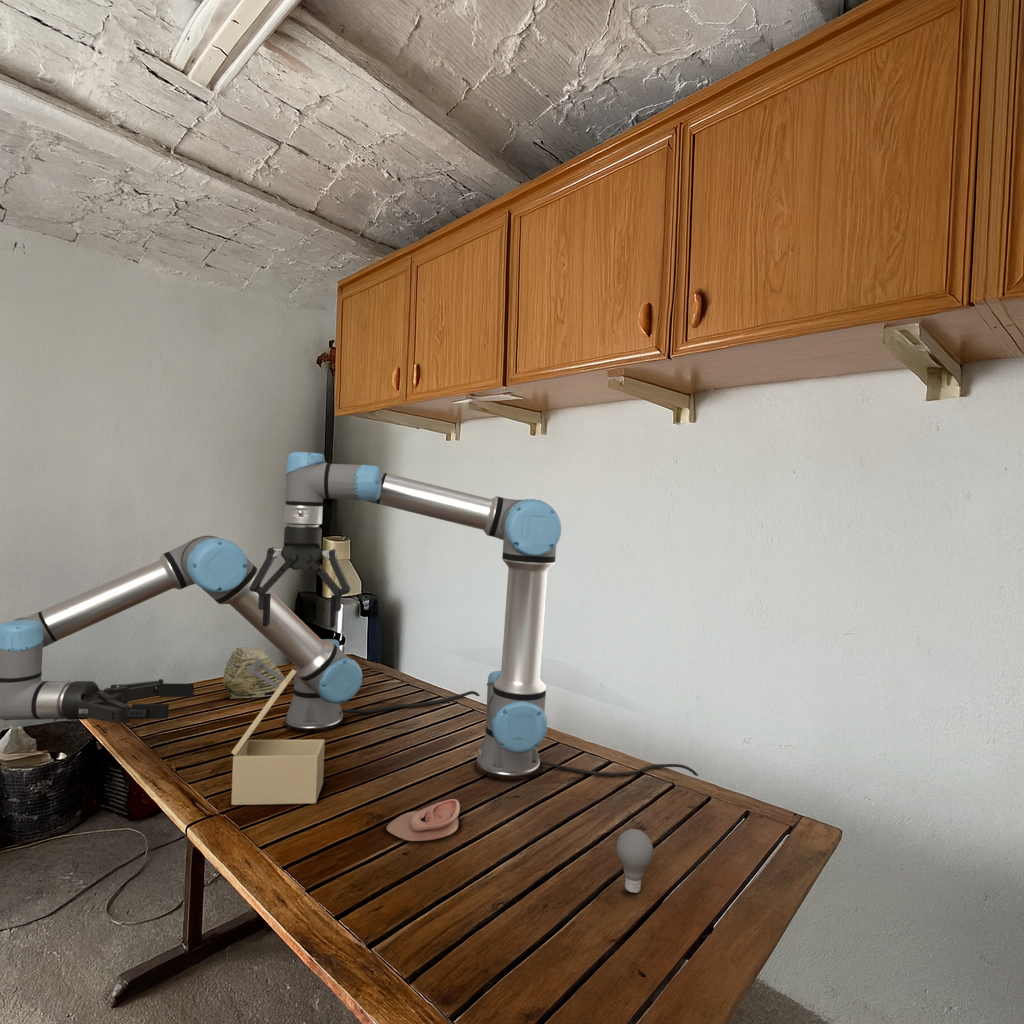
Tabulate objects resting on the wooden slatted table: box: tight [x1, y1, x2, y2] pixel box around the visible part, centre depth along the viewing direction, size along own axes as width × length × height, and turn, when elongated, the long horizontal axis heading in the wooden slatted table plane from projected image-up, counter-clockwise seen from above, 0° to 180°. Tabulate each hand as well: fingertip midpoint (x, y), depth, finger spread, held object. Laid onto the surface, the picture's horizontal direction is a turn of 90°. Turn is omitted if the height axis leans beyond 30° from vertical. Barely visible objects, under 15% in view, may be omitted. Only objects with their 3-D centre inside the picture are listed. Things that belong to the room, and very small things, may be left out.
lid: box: [231, 659, 297, 756], centre depth 133 cm, size 18×9×8 cm
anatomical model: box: [386, 798, 461, 842], centre depth 123 cm, size 13×4×12 cm
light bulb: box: [615, 828, 654, 894], centre depth 106 cm, size 6×6×10 cm
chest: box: [230, 738, 326, 806], centre depth 134 cm, size 17×9×10 cm, turn 98°
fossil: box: [222, 646, 288, 699], centre depth 198 cm, size 9×18×15 cm, turn 132°
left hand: (181, 700), depth 131 cm, fingers open, 13 cm apart
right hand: (299, 626), depth 134 cm, fingers open, 13 cm apart
